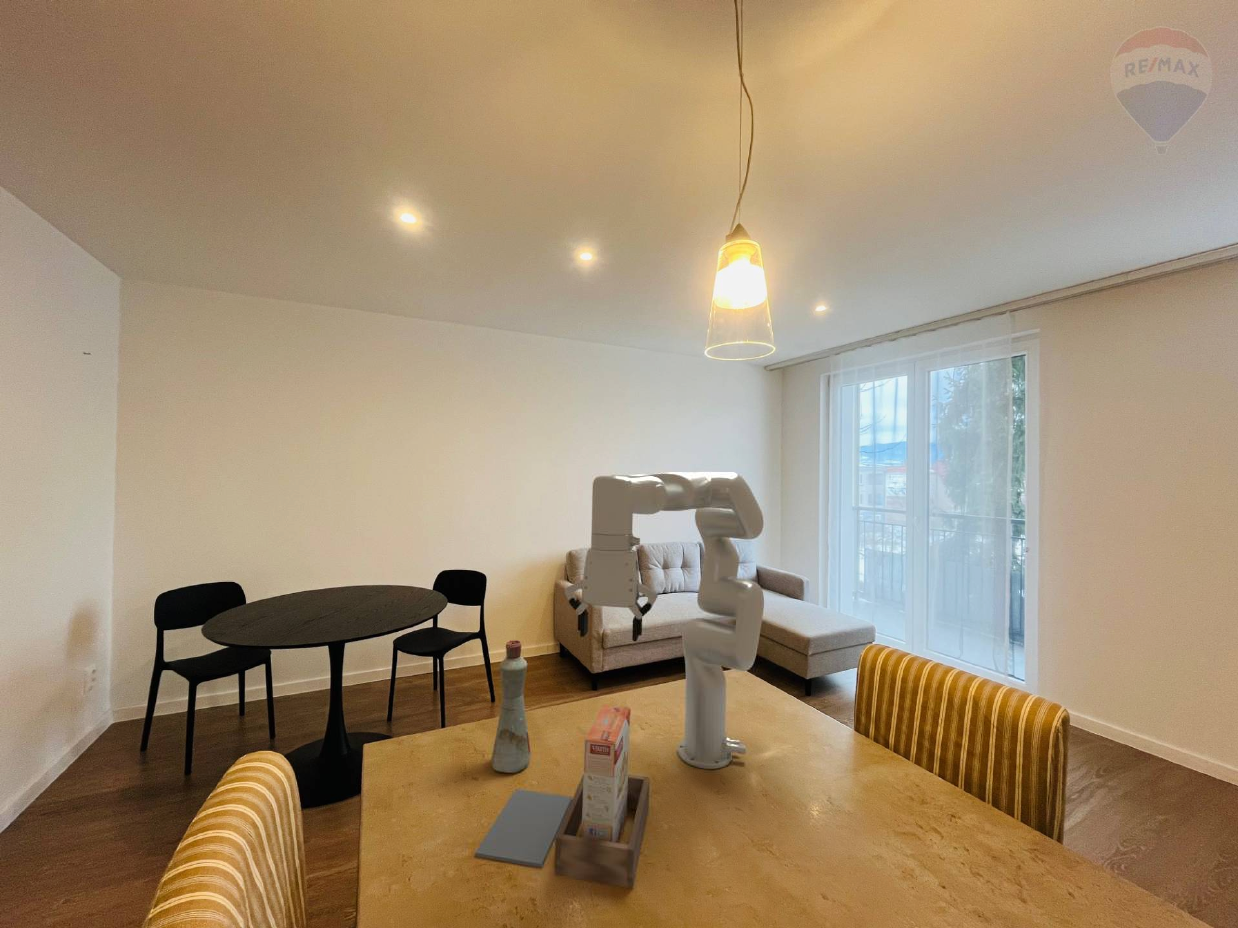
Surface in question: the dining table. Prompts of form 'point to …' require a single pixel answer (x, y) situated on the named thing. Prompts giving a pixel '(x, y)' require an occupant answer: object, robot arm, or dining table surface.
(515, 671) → the bottle
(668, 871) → the dining table surface
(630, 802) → the walnut crate
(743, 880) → the dining table surface
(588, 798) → the cracker box
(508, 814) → the slate mat
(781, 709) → the dining table surface
